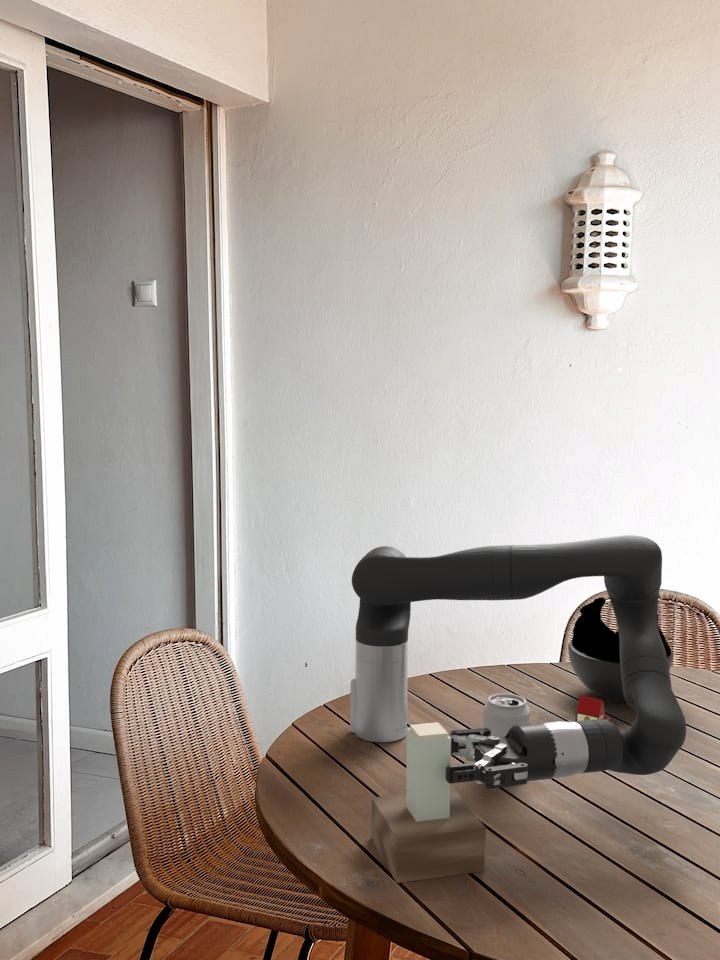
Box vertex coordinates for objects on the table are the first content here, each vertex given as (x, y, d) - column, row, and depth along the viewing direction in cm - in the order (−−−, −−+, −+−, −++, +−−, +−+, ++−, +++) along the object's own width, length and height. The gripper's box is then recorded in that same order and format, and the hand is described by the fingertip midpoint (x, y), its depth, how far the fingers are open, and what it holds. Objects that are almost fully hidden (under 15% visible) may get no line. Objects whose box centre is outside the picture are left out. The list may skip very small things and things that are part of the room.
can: (527, 781, 157) (529, 708, 155) (480, 777, 158) (481, 704, 157) (529, 762, 164) (531, 692, 162) (483, 758, 165) (485, 689, 164)
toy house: (574, 745, 172) (575, 700, 171) (576, 731, 179) (577, 688, 178) (608, 748, 171) (610, 703, 170) (609, 735, 177) (611, 691, 176)
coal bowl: (684, 717, 185) (689, 619, 183) (577, 715, 185) (581, 617, 183) (654, 681, 205) (658, 593, 203) (557, 680, 205) (560, 592, 203)
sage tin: (405, 806, 134) (407, 724, 133) (437, 802, 135) (439, 721, 134) (416, 821, 130) (417, 737, 128) (449, 817, 131) (451, 733, 130)
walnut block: (371, 838, 138) (371, 797, 137) (452, 828, 141) (453, 788, 140) (396, 882, 126) (397, 838, 125) (484, 871, 129) (485, 827, 128)
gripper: (526, 706, 142) (419, 715, 138) (571, 743, 129) (454, 755, 125) (524, 756, 143) (418, 767, 139) (569, 798, 130) (453, 812, 126)
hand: (435, 761), depth 132 cm, fingers open, 8 cm apart
